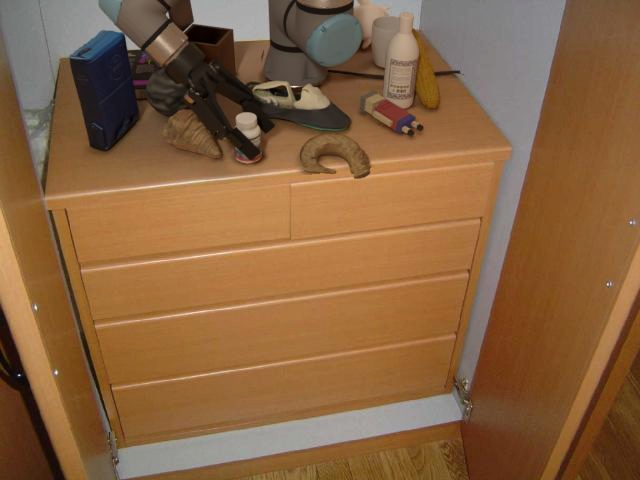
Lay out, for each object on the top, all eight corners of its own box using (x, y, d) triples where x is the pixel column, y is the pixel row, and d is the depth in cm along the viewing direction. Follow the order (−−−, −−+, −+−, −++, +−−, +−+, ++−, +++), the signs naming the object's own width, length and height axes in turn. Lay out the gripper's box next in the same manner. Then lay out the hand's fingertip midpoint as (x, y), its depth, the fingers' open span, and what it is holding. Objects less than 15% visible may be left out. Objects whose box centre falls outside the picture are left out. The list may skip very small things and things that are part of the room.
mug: (367, 54, 166) (370, 15, 159) (403, 54, 166) (407, 15, 160) (372, 78, 156) (376, 38, 150) (410, 78, 157) (415, 38, 150)
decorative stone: (196, 123, 140) (191, 80, 133) (148, 126, 138) (141, 82, 132) (196, 100, 147) (192, 58, 141) (150, 102, 146) (144, 60, 139)
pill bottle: (235, 149, 132) (232, 110, 127) (261, 148, 133) (259, 109, 127) (235, 164, 129) (231, 124, 123) (262, 163, 129) (260, 124, 123)
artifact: (313, 124, 133) (384, 141, 129) (314, 136, 136) (383, 153, 132) (289, 161, 127) (363, 180, 122) (291, 173, 129) (363, 193, 125)
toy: (424, 135, 140) (373, 103, 147) (428, 118, 137) (376, 86, 144) (405, 145, 137) (354, 112, 144) (409, 128, 134) (356, 96, 141)
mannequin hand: (386, 46, 177) (400, 43, 166) (320, 54, 174) (331, 52, 163) (381, -3, 174) (395, -9, 163) (315, 5, 171) (324, -1, 160)
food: (396, 44, 155) (389, 30, 150) (418, 32, 154) (412, 18, 149) (427, 117, 148) (420, 105, 142) (450, 106, 146) (445, 94, 141)
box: (159, 101, 147) (163, 60, 162) (157, 86, 145) (161, 46, 159) (95, 103, 146) (104, 61, 160) (92, 88, 143) (101, 47, 158)
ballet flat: (343, 139, 136) (345, 104, 130) (234, 119, 141) (231, 84, 136) (354, 119, 142) (356, 85, 136) (249, 100, 147) (247, 66, 142)
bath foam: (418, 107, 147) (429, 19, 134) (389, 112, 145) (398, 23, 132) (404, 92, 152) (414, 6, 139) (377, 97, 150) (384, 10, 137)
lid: (185, -27, 144) (181, -27, 144) (166, -11, 137) (162, -12, 137) (194, 21, 151) (191, 21, 151) (176, 38, 144) (173, 38, 144)
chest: (236, 74, 157) (233, 29, 149) (221, 93, 150) (217, 46, 142) (197, 68, 158) (192, 23, 151) (181, 86, 152) (175, 40, 144)
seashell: (216, 174, 133) (236, 142, 135) (213, 160, 125) (234, 126, 127) (157, 142, 134) (178, 110, 136) (150, 126, 126) (172, 92, 128)
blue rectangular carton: (109, 155, 130) (88, 59, 117) (85, 150, 131) (61, 55, 118) (143, 119, 141) (127, 28, 128) (120, 115, 142) (102, 24, 129)
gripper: (186, 42, 130) (267, 124, 138) (138, 94, 114) (232, 183, 122) (209, 19, 126) (291, 105, 134) (163, 70, 110) (259, 164, 118)
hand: (263, 142), depth 128 cm, fingers open, 9 cm apart
